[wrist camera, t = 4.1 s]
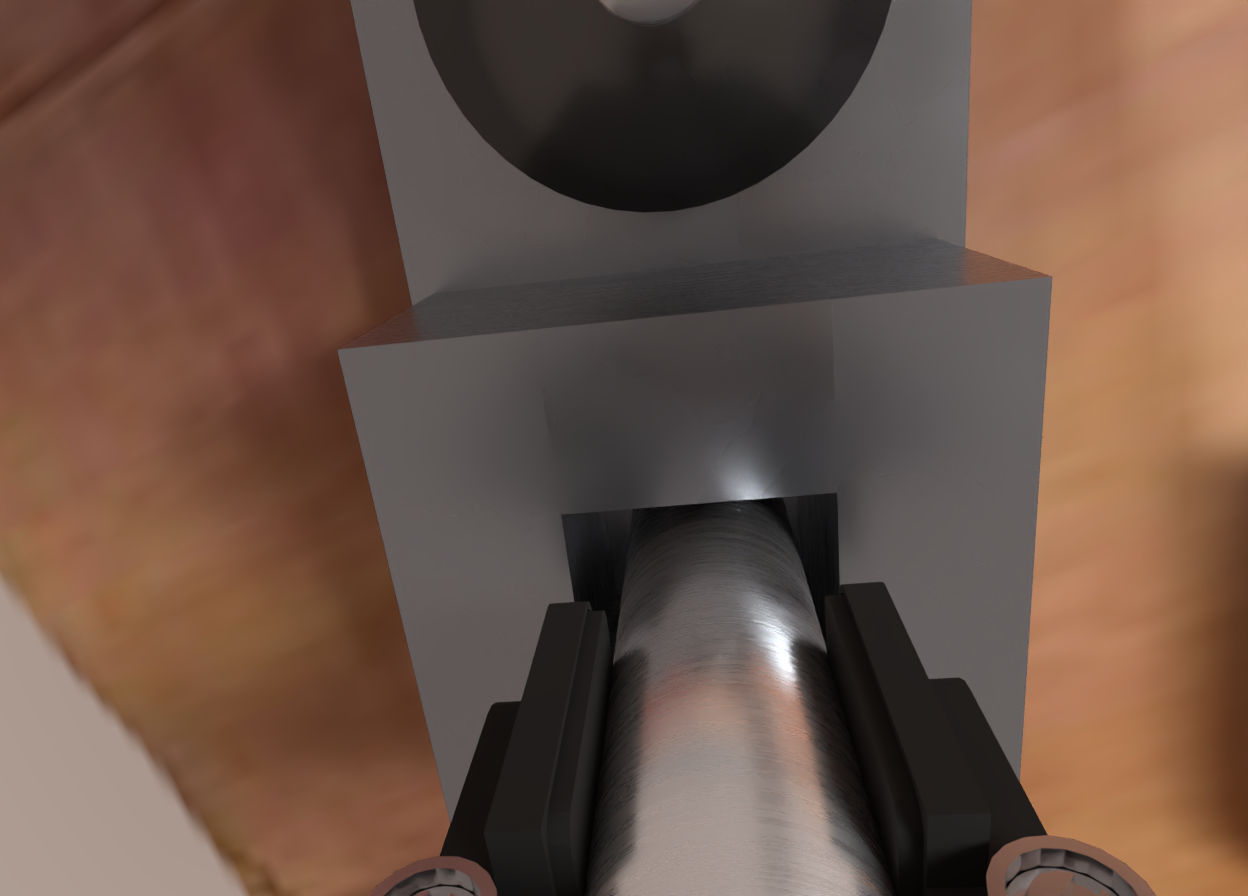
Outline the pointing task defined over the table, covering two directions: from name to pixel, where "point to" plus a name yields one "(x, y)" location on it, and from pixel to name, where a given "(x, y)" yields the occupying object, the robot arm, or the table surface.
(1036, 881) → the robot arm
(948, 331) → the block
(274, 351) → the table surface
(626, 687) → the pin
